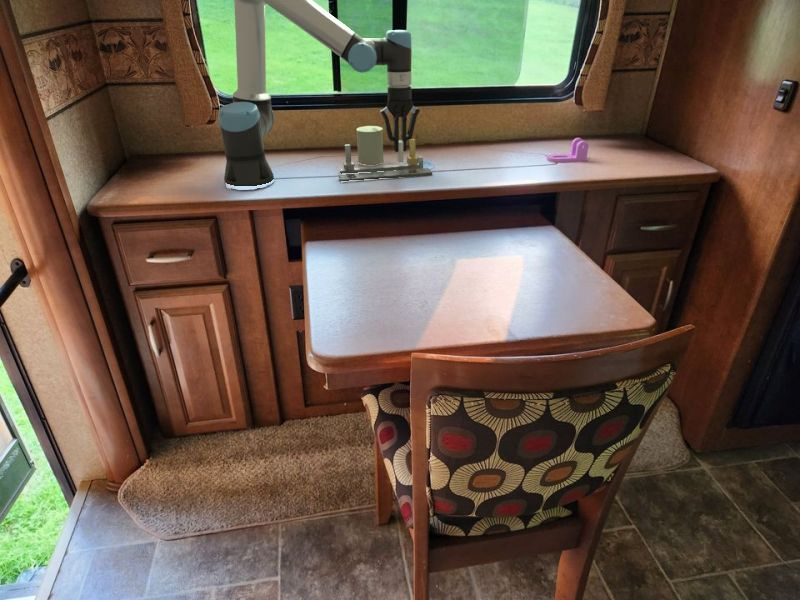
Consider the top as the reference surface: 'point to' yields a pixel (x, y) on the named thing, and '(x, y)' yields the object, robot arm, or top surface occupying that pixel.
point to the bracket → (572, 153)
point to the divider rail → (350, 166)
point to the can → (370, 145)
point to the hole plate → (387, 174)
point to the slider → (412, 154)
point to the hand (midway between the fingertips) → (400, 161)
